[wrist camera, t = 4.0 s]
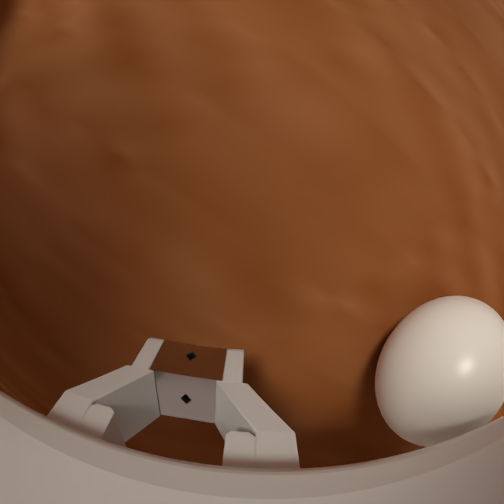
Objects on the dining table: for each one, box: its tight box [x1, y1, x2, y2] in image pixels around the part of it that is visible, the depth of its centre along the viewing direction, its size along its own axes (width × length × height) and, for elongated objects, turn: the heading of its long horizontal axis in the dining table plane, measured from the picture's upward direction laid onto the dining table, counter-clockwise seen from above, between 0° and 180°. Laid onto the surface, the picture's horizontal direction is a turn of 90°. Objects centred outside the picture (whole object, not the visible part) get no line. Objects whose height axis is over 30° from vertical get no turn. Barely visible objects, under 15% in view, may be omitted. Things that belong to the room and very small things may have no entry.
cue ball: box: [375, 296, 504, 447], centre depth 7 cm, size 6×6×6 cm
